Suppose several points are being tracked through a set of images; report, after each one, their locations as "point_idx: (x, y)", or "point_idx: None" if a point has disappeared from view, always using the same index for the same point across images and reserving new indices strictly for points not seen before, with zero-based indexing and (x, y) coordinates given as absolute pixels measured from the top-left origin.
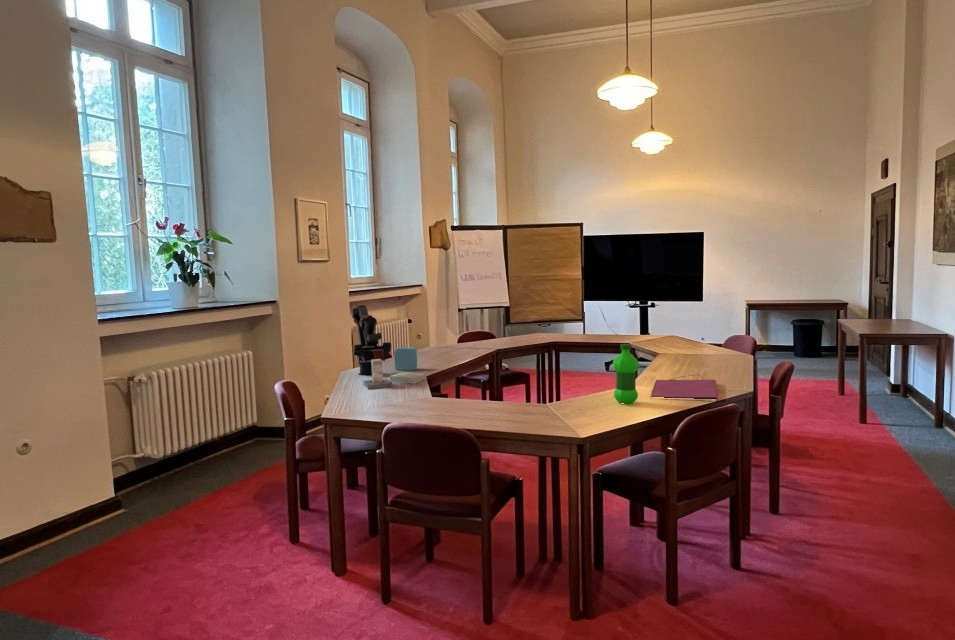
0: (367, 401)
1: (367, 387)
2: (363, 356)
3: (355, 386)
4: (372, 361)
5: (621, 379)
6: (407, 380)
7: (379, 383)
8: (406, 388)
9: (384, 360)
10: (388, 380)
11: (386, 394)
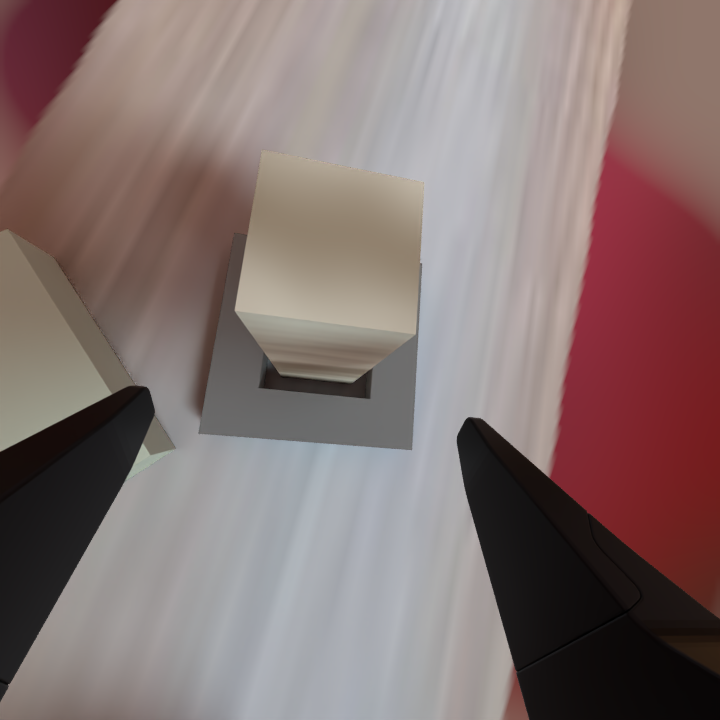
0: (477, 21)
1: None
2: (572, 504)
3: (466, 416)
4: (417, 231)
5: None
6: (58, 287)
7: None
8: (171, 151)
9: (134, 386)
10: (221, 341)
11: (349, 86)
